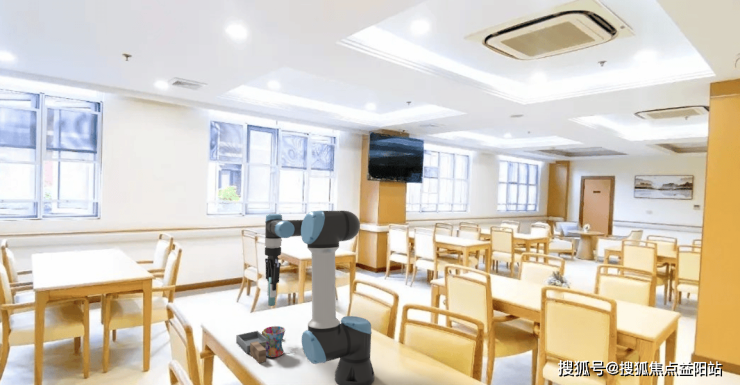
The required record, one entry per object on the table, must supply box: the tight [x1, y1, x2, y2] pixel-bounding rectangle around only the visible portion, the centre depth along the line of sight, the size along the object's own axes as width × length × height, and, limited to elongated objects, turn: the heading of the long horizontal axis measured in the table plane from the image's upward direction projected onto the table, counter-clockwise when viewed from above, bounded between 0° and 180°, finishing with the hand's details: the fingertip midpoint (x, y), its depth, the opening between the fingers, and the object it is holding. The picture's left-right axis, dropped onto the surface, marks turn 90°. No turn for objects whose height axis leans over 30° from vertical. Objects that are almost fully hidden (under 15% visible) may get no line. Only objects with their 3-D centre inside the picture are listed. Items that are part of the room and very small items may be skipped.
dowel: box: [267, 277, 276, 307], centre depth 182 cm, size 3×3×13 cm
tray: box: [235, 330, 266, 355], centre depth 174 cm, size 14×10×4 cm
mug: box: [262, 325, 286, 358], centre depth 167 cm, size 12×9×11 cm
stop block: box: [249, 341, 267, 364], centre depth 162 cm, size 10×3×5 cm, turn 37°
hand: (271, 296), depth 182 cm, fingers closed on dowel, 3 cm apart
